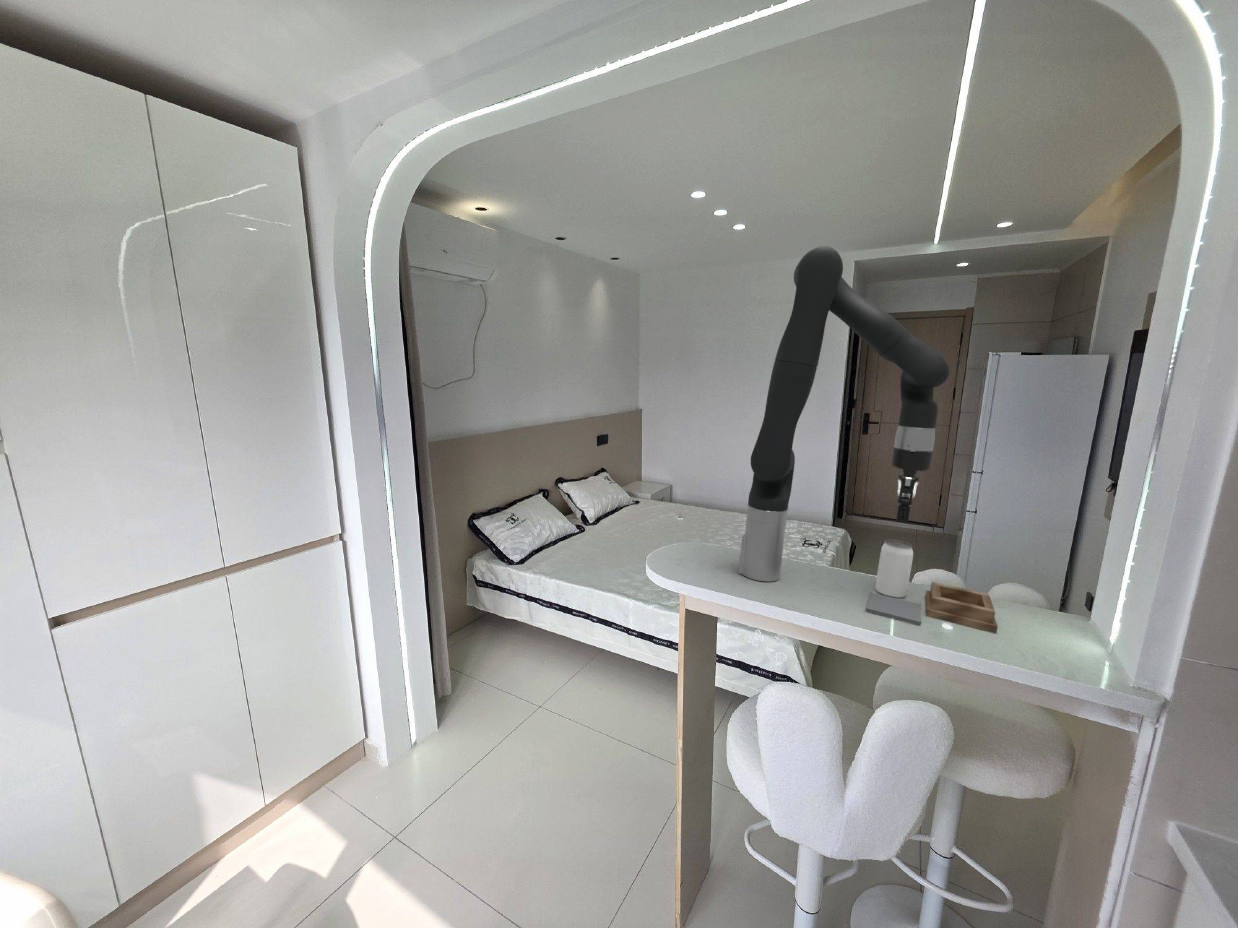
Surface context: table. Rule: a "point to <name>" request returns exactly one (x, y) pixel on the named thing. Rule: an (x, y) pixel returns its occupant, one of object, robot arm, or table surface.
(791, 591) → the table surface
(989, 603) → the socket block
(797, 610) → the table surface
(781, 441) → the robot arm
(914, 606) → the mat
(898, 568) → the can
